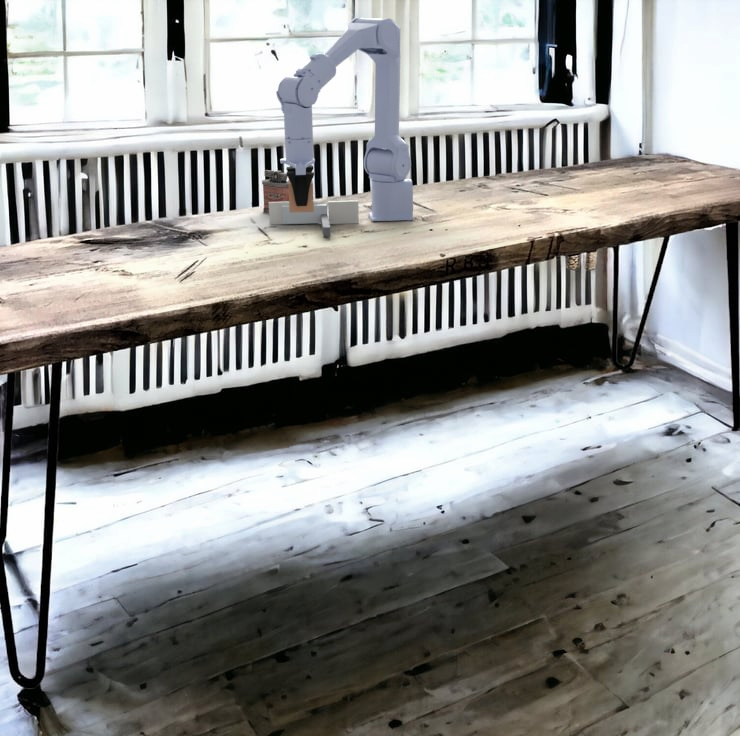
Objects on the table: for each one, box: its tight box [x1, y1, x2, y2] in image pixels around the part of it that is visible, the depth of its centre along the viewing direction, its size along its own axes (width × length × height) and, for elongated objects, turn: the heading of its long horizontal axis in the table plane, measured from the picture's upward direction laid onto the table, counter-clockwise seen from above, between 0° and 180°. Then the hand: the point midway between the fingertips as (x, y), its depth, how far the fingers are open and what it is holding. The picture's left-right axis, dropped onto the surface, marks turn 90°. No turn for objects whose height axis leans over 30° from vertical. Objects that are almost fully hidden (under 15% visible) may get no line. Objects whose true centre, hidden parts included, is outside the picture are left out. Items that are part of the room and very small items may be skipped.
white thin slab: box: [268, 199, 360, 225], centre depth 232 cm, size 20×2×5 cm, turn 95°
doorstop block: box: [287, 179, 314, 213], centre depth 215 cm, size 5×4×6 cm
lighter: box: [261, 169, 289, 215], centre depth 241 cm, size 8×3×10 cm, turn 58°
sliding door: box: [282, 203, 331, 237], centre depth 226 cm, size 10×14×4 cm
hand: (301, 203), depth 216 cm, fingers closed on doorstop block, 4 cm apart
